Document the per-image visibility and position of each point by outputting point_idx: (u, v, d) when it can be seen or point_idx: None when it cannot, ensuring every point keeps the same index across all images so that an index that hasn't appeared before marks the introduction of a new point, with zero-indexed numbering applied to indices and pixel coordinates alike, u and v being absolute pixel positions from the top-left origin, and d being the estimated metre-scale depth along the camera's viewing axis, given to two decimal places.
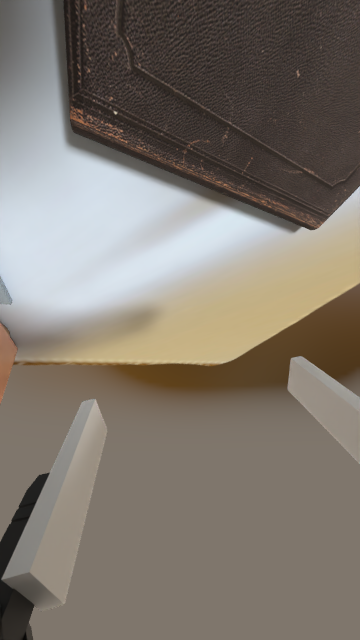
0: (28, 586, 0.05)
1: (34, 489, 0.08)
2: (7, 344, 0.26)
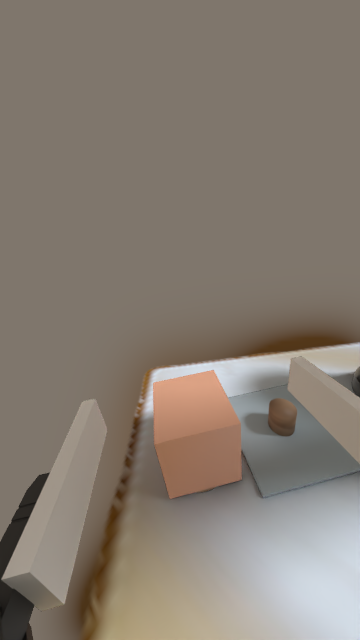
0: (28, 586, 0.05)
1: (34, 488, 0.08)
2: (196, 486, 0.24)
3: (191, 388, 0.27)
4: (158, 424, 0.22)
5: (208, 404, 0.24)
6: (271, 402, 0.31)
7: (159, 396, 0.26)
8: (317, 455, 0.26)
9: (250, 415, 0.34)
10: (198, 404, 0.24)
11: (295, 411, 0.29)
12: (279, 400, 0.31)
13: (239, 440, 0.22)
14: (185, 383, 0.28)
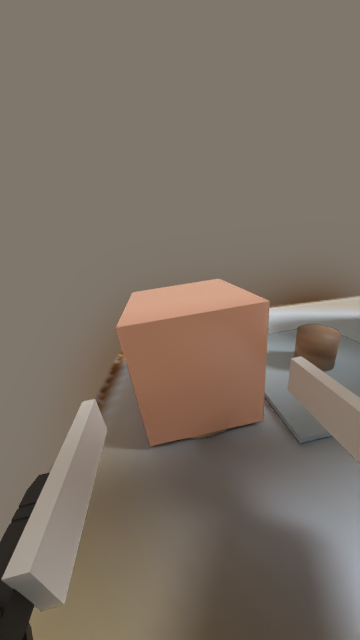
0: (28, 586, 0.05)
1: (34, 489, 0.08)
2: (193, 426, 0.15)
3: (186, 289, 0.18)
4: (129, 314, 0.13)
5: (212, 295, 0.15)
6: (300, 328, 0.22)
7: (139, 298, 0.18)
8: None
9: (268, 354, 0.25)
10: (196, 296, 0.15)
11: (337, 333, 0.20)
12: (311, 326, 0.22)
13: (264, 339, 0.13)
14: (179, 288, 0.19)
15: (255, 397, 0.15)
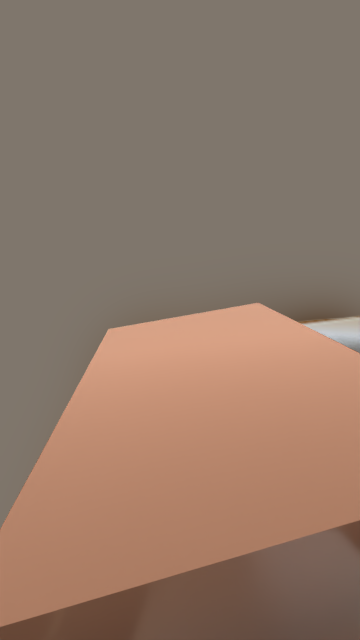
0: None
1: None
2: None
3: (209, 333, 0.09)
4: (63, 451, 0.04)
5: (282, 368, 0.06)
6: None
7: (114, 352, 0.09)
8: None
9: None
10: (243, 368, 0.06)
11: None
12: None
13: None
14: (192, 325, 0.10)
15: None
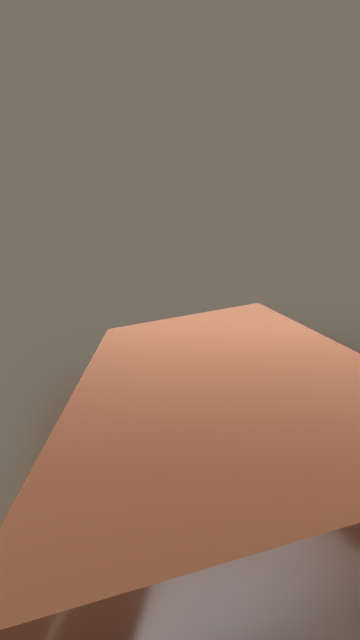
0: None
1: None
2: None
3: (208, 333, 0.09)
4: (61, 452, 0.04)
5: (282, 369, 0.06)
6: None
7: (113, 353, 0.09)
8: None
9: None
10: (243, 369, 0.06)
11: None
12: None
13: None
14: (191, 325, 0.10)
15: None
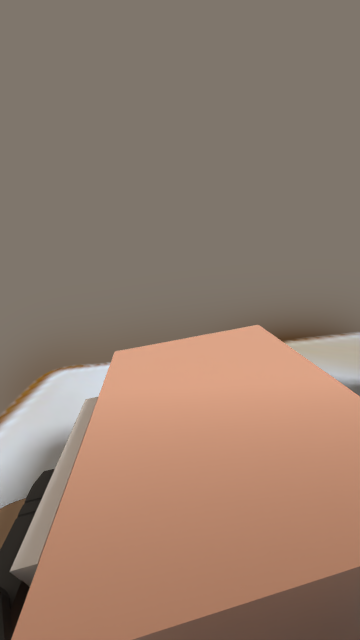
0: None
1: (39, 484, 0.08)
2: None
3: (211, 360, 0.10)
4: (83, 492, 0.05)
5: (280, 406, 0.07)
6: None
7: (122, 381, 0.09)
8: None
9: None
10: (244, 404, 0.07)
11: None
12: None
13: None
14: (195, 350, 0.11)
15: None
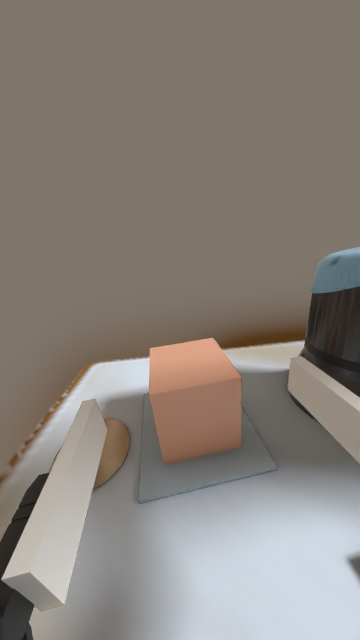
0: (28, 586, 0.05)
1: (34, 489, 0.08)
2: (193, 451, 0.23)
3: (189, 351, 0.26)
4: (154, 379, 0.21)
5: (207, 363, 0.23)
6: None
7: (156, 358, 0.25)
8: (218, 455, 0.23)
9: None
10: (197, 363, 0.23)
11: None
12: None
13: (239, 398, 0.21)
14: (184, 348, 0.27)
15: (235, 432, 0.23)
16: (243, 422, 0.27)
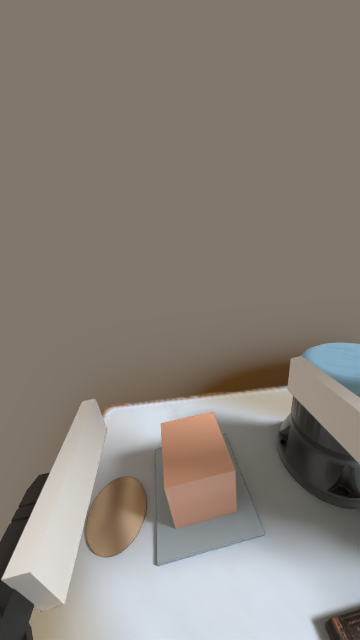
0: (29, 586, 0.05)
1: (34, 489, 0.08)
2: (198, 518, 0.29)
3: (194, 431, 0.32)
4: (167, 468, 0.27)
5: (208, 449, 0.28)
6: None
7: (167, 438, 0.31)
8: (218, 520, 0.29)
9: None
10: (200, 449, 0.29)
11: None
12: None
13: (234, 482, 0.26)
14: (189, 425, 0.33)
15: (231, 503, 0.28)
16: (239, 485, 0.33)
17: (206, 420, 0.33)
